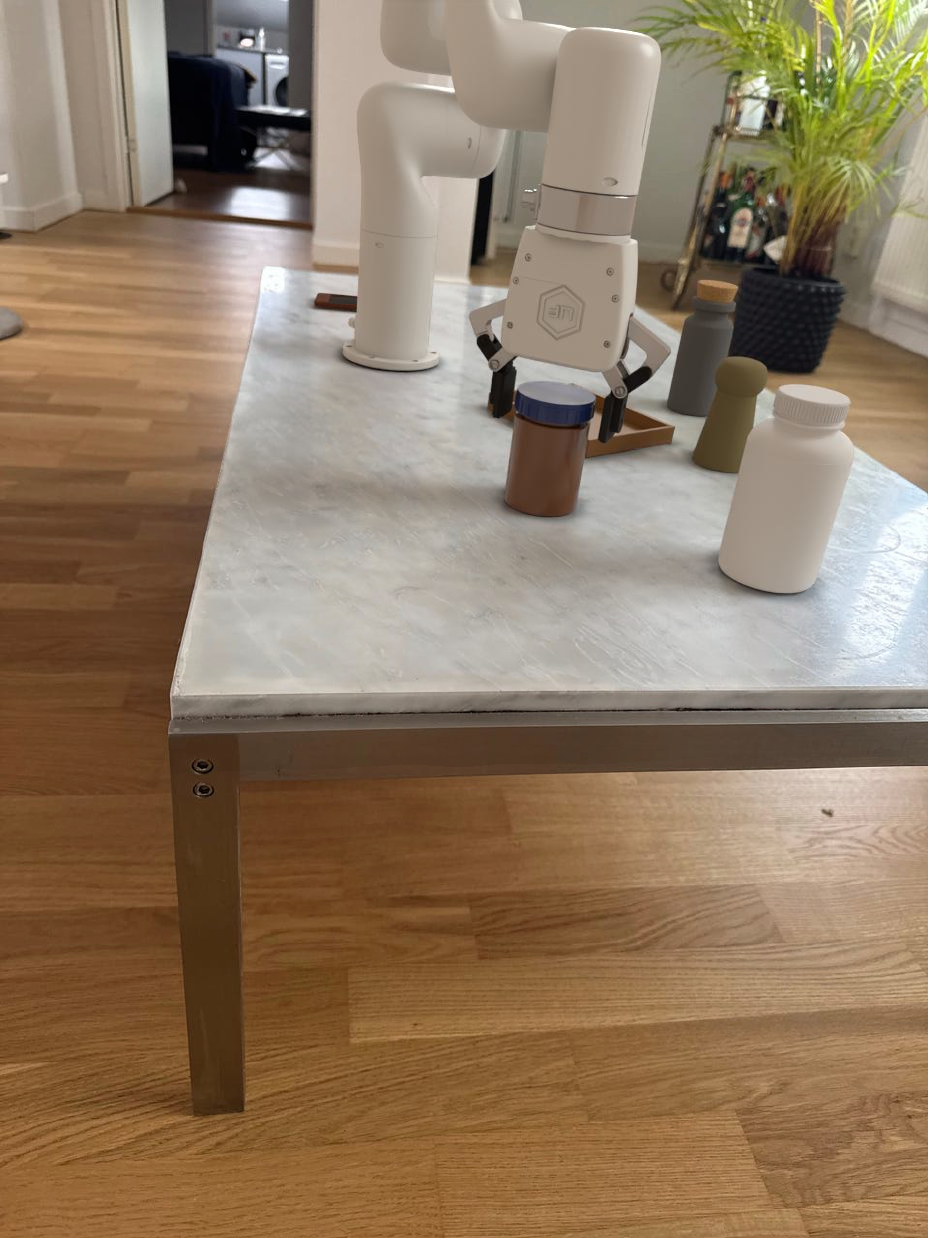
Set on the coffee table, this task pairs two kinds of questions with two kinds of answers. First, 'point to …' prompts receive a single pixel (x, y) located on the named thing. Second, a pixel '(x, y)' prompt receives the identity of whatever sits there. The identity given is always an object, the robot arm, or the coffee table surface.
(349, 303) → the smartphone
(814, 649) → the coffee table surface
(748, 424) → the olive pepper mill
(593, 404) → the lid
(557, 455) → the jar
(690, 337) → the bottle
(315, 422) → the coffee table surface
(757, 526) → the pill bottle
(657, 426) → the tray
